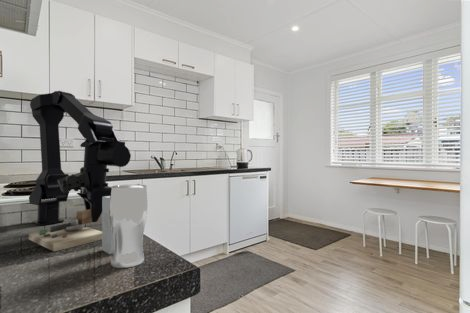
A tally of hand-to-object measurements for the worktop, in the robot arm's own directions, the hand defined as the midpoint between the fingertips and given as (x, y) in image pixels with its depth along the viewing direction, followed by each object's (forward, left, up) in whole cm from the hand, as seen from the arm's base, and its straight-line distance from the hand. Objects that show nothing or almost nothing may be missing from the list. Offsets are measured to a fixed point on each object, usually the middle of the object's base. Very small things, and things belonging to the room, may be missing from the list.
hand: (92, 220), depth 72 cm
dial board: (+2, -7, -3) cm, 8 cm away
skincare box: (+19, -4, -3) cm, 20 cm away
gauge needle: (0, -4, -1) cm, 4 cm away
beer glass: (+27, -7, -3) cm, 28 cm away
